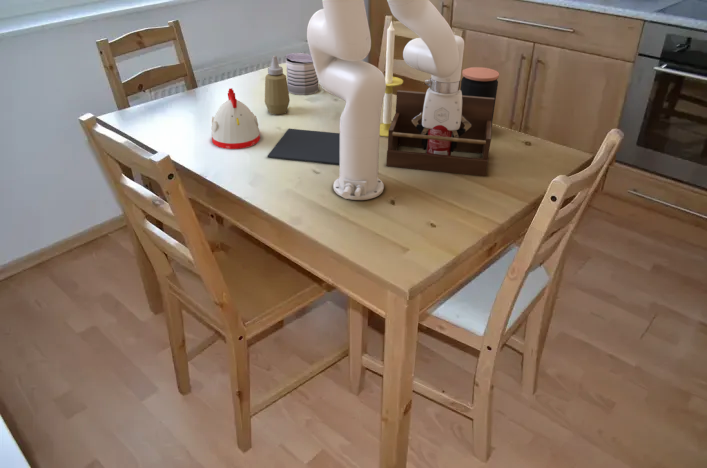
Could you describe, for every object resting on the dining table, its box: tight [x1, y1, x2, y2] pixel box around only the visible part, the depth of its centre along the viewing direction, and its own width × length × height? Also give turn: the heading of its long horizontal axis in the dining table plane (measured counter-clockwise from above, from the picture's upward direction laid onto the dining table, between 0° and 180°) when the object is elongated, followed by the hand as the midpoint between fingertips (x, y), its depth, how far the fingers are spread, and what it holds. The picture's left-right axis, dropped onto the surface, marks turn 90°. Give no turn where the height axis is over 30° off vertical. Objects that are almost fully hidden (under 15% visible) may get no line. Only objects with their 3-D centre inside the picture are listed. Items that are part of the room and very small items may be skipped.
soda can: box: [425, 122, 453, 156], centre depth 159 cm, size 7×7×12 cm
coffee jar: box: [459, 66, 500, 128], centre depth 175 cm, size 11×11×18 cm
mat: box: [267, 128, 340, 166], centre depth 167 cm, size 20×24×1 cm
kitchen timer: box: [210, 87, 261, 150], centre depth 168 cm, size 14×14×15 cm
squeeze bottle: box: [264, 55, 291, 115], centre depth 186 cm, size 8×8×18 cm
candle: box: [379, 19, 404, 138], centre depth 170 cm, size 10×10×32 cm
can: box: [284, 52, 320, 96], centre depth 206 cm, size 11×11×12 cm
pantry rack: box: [385, 89, 494, 177], centre depth 158 cm, size 15×26×16 cm, turn 78°
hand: (438, 148), depth 160 cm, fingers closed on soda can, 6 cm apart
